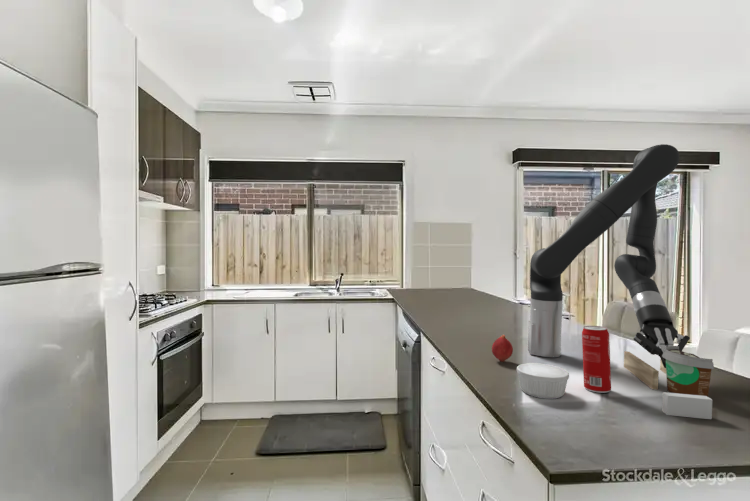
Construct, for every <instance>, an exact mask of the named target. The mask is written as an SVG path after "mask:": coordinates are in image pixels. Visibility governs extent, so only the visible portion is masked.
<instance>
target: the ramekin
mask: <svg viewBox="0 0 750 501" xmlns="http://www.w3.org/2000/svg"><path fill="white" fill-rule="evenodd" d="M516 372H517V377H518V382H519V387H520V389H521V391H522V392H523V393H525V394H526V395H529V396H532V397H535V398H539V399H548V400H550V399H553V400H554V399H559V398H562V397H563V396H564V394H565V393H566V388H567V384H568V380H569V379H570V374H569V372H568V371H567V370H566V369H564V368H562V367H560V366H556V365H552V364H547V363H540V362H527V363H521V364H519V365H518V366H516Z"/></svg>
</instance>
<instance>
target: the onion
mask: <svg viewBox="0 0 750 501" xmlns="http://www.w3.org/2000/svg"><path fill="white" fill-rule="evenodd" d="M513 348H514V347H513V344H512V342H510V341H509V340H508V338H506V335H505V334H501V336H500V337H498V338H496V339H495V340H494V342H493V343H492V346H491V352H492V355H493V356H494V357H495V358H496V359H497V360H498V361H499V362H501V363H505V361H507V360H508V359H510V358H511V357H512V354H513V352H514V349H513Z"/></svg>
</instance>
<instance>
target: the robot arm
mask: <svg viewBox="0 0 750 501" xmlns="http://www.w3.org/2000/svg"><path fill="white" fill-rule="evenodd" d="M679 163H680V153H679V150H678V149H677V148H676V147H675V146H673V145H671V144H663V143H662V144H655V145H652V146H649V147H648V148H645V149H642V150H640V151H639V152H638V153H637V154H636V155H635V157H634V159H633V163H632V164H633V165H632V169H631V170H629V172H628V173H627V174H626V175H625V176H624V177H622V178H621V179H620V180H618V181H617V182H615V183H614V184H612V185H610V186H608V187H607V188H606V189H605V190H603V191H602V192H600V193H599V194H598V195H596V196H595V197H594V198H593V199H592V200H591V201H589V203H588V204H586V205H585V206H584V208H582V209H581V211H580V212H579V213H577V215H576V216H575V218H574V220H573V221H572V222H571V224H570V225H569V227H568V228H567V229H566V230H565V232H563V234H562V235H561V236H559V237H558V238H557V239H556V240H554V241H553V242H551V244H550V245H548V246H546V247H545V248H539V249H537V250H536V251H535V252H534V253H533V254H532V256H531V258H530V267H529V268H530V270H529V290H530V308H529V313H530V314H529V320H528V327H527V328H528V332H527V335H528V336H527V351H528V352H529V354H530V355H531V356H532V355H533V356H538V357H542V358H559V357H560V356H561V353H562V352H561V351H562V326H563V325H562V321H563V297H564V296H563V294H564V293H563V289H562V284H561V283H562V282H561V281H562V280H561V278H562V276H561V275H562V274H563V273H564V272H565V271H566V269H567V268H568V267H569V266H570V265H571V264H572V262H574V260H575V259H576V258H577V257H578V256H579V255H580V253H582V252H583V251H584V250H585V249H586V248H587V247H589V245H591V244H592V243H593V242H595V241H596V240H597V239H598V238H600V237H601V235H603V234H605V232H607V231H608V230H609V228H611V227H612V226H613V225H614V224H615V223H617V221H619V220H620V219H621V218H622V216H623V215H624V214H626V212H627V211H629V210H630V209H631V211H630V217H629V222H628V228H627V231H626V232H627V234H626V237H625V238H626V239H625V243H626V245H627V246H629V247H631V248H635V249H637V250H638V254H639V255H638V254H628V253H623V254H620V255H618V256H617V257H616V258H615V261H614V271H615V274H616V275H617V277H618V279H619V280H620V281H621V282H622V284H623V285H624V286H625V287H626V289H627V290H628V292H629V295H630V299H631V301H632V306H633V312H634V313H635V316H636V320H637V322H638V325H639V328H640V330H639V332H636V334H635V336H634V337H633V341H635V343H637V344H638V345H639V346H641V347H642V348H643V349H644V350H646V351H647V353H650V355H652V356H653V355H654V356H656V355H657V356H658V357H659V358H660V360H661V361H662V364H663V366H664V368H666V359H665V358H663V357H662V355H663V352H664V350H665V348H666V347H668V346H675V345H674V341H675V340H676V344H677V346H679V350H680V351H683V350H684V349H685V347H686V345H687V343H688V342H689V341H690V336H689V335H683V334H681V333H679V332H678V329H676V328H675V326H674V323H673V320H672V318H671V314H670V312H669V310H668V306H667V305H666V302H665V300H664V298H663V297H662V294H661V292H660V291H659V290H660V289H659V287H658V286H657V283H656V282H655V280H654V279H652V277H653V276H654V275H655V273H656V270H657V262H656V256H655V254H656V253H655V244H654V243H655V237H656V231H657V226H658V212H657V204H656V192H657V191H656V190H657V186H658V184H659V183H660V182H661V181H662V180H664V179H665V178H666V177H667V176H669V175H671V174H672V172H674V171H675V169H677V167H678V165H679Z"/></svg>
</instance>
